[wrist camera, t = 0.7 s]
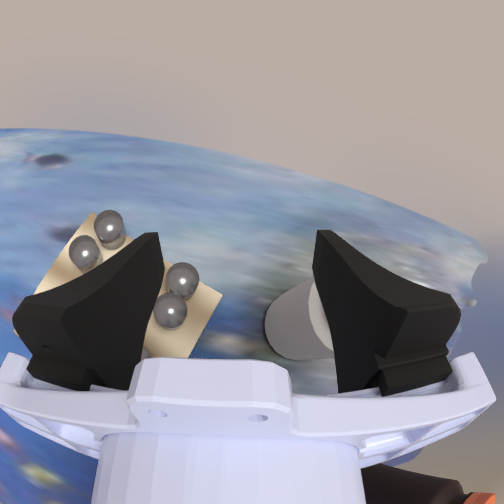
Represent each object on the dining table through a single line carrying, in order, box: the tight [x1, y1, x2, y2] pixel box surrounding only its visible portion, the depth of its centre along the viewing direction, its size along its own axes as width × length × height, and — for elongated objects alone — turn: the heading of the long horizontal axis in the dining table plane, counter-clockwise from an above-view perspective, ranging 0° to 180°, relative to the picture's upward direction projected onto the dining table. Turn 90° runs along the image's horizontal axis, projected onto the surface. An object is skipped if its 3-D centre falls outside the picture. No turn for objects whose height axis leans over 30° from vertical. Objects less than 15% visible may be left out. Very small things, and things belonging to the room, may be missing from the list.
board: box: [14, 212, 222, 358], centre depth 24 cm, size 16×17×1 cm
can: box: [265, 275, 334, 360], centre depth 24 cm, size 8×8×12 cm
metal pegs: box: [69, 210, 199, 361], centre depth 23 cm, size 13×13×3 cm
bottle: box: [360, 463, 496, 504], centre depth 15 cm, size 7×7×20 cm
